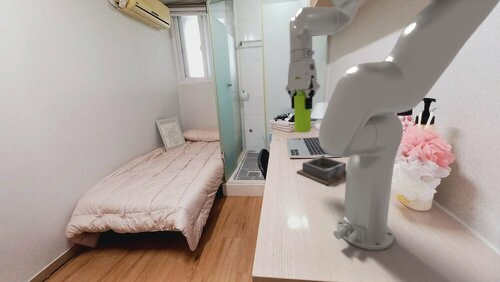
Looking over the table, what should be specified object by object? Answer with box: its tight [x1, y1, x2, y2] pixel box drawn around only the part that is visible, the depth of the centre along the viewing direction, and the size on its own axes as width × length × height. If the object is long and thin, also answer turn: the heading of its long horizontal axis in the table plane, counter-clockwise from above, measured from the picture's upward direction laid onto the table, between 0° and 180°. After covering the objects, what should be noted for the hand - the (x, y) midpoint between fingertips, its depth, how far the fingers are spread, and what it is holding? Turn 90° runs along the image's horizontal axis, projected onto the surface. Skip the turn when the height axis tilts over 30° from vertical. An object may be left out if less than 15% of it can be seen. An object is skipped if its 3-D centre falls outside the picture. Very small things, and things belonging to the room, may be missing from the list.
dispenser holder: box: [296, 155, 347, 186], centre depth 88 cm, size 16×16×5 cm
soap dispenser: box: [293, 77, 312, 133], centre depth 76 cm, size 6×7×20 cm
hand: (301, 108), depth 76 cm, fingers closed on soap dispenser, 5 cm apart
